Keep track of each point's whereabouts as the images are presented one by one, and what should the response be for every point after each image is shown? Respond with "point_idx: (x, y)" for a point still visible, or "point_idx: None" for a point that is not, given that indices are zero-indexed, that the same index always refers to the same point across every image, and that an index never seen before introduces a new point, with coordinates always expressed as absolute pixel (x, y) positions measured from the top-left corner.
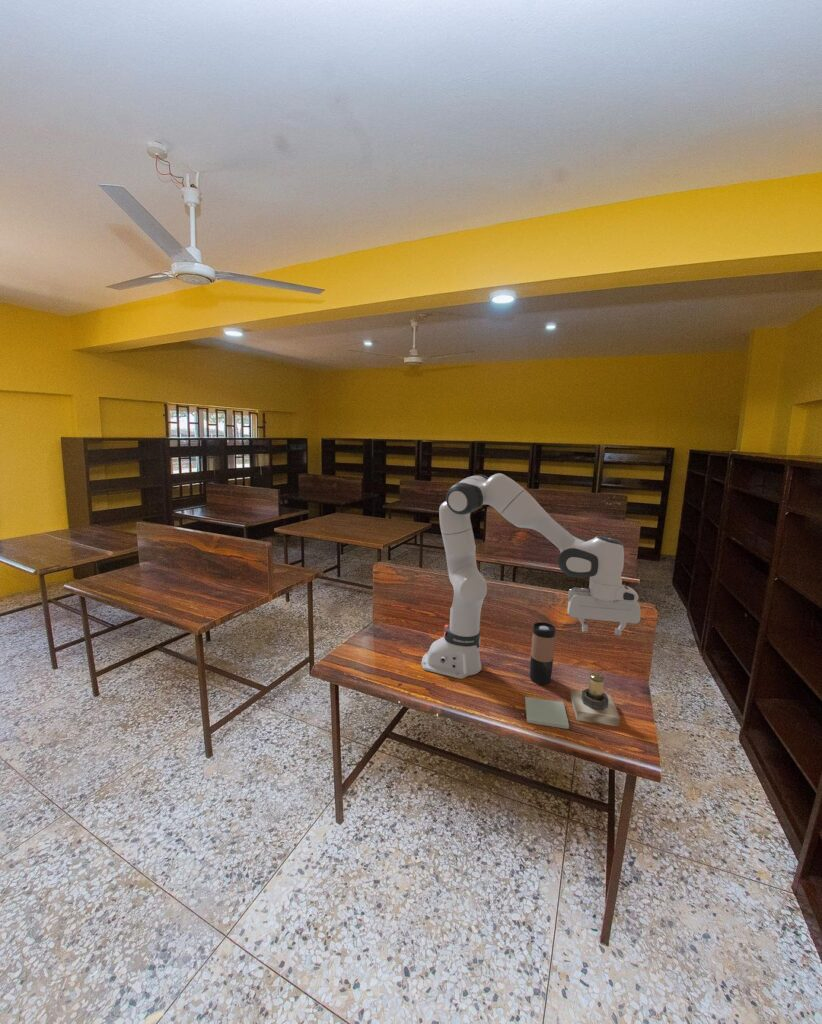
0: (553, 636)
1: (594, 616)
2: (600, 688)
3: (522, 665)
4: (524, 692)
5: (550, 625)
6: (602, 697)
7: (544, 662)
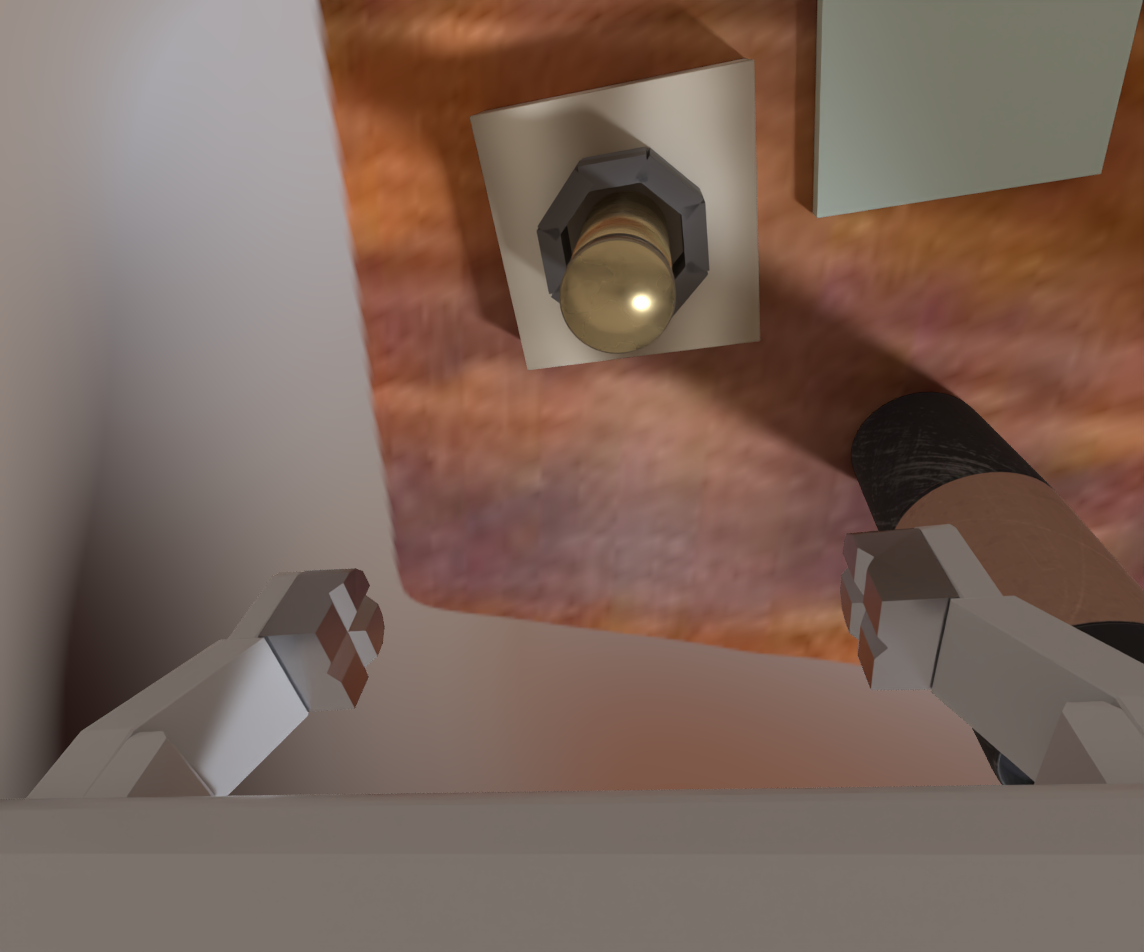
0: None
1: (873, 906)
2: (591, 230)
3: None
4: (1064, 261)
5: None
6: None
7: (974, 474)
